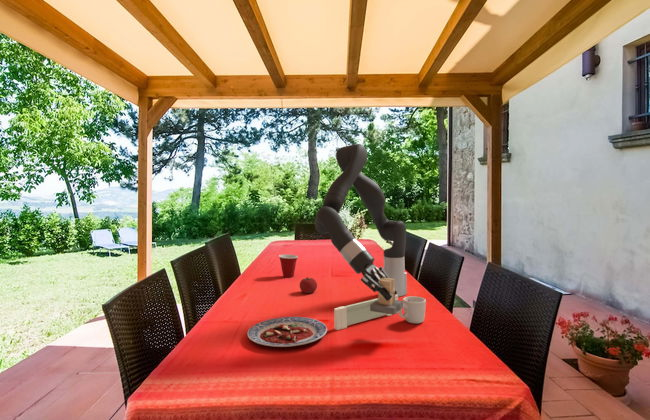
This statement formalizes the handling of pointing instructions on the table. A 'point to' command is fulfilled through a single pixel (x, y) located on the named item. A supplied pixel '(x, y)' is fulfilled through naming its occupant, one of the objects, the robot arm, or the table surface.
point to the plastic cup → (288, 264)
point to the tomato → (308, 285)
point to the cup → (413, 309)
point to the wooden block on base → (384, 305)
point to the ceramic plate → (287, 331)
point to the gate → (361, 312)
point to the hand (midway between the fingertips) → (392, 296)
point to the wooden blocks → (345, 316)
